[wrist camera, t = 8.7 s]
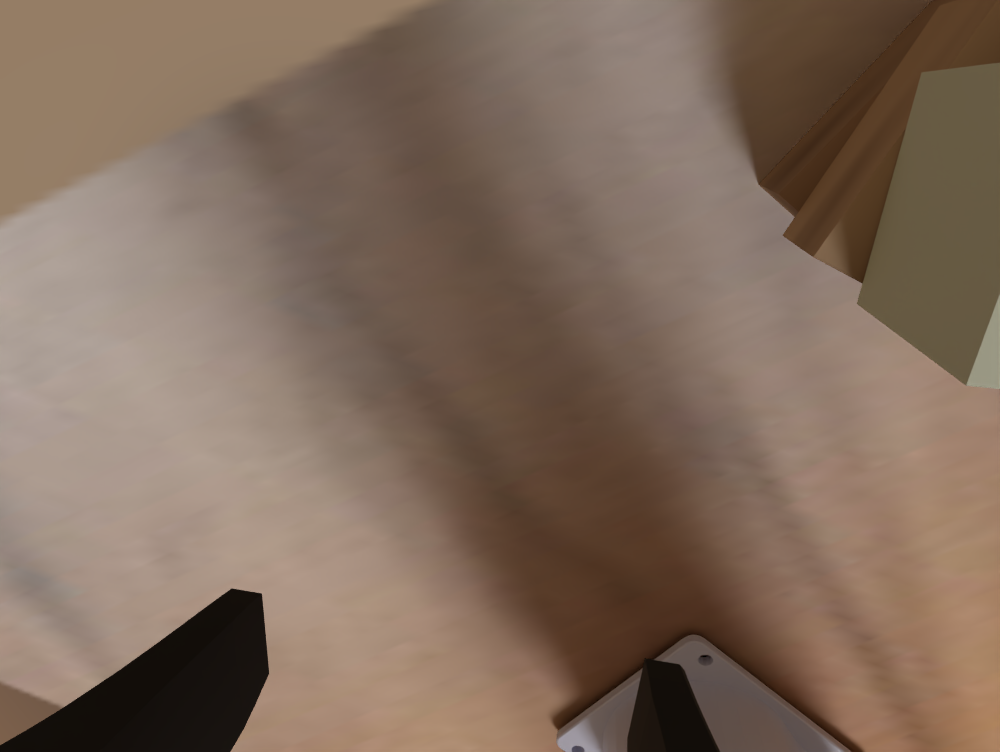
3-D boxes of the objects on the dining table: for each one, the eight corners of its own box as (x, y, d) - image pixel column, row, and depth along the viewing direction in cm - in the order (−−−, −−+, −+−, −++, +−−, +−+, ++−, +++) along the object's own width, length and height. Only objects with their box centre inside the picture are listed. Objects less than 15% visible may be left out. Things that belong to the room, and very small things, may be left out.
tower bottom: (1073, 149, 17) (1151, 156, 14) (892, 306, 19) (935, 334, 16) (925, 3, 16) (981, -16, 13) (755, 182, 18) (778, 194, 16)
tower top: (1156, 127, 14) (1270, 129, 12) (972, 337, 16) (1035, 375, 14) (939, 5, 14) (1009, -17, 11) (782, 235, 16) (812, 257, 14)
